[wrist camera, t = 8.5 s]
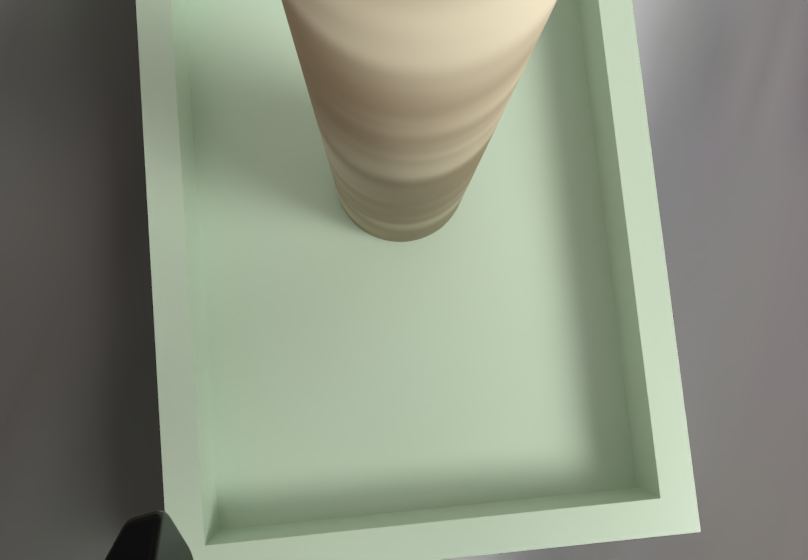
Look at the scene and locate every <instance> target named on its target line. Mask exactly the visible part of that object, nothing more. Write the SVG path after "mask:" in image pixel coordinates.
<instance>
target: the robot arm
mask: <svg viewBox="0 0 808 560" xmlns="http://www.w3.org/2000/svg"><path fill="white" fill-rule="evenodd" d="M105 560H193V556H192V553H191V551H190V549H189V547H188V545H187V543H186V542H185V540H184V539H183V537H182V535H181V534H180V532H179V530H178V529H177V527H176V525H175V524H174V522H173V521H172V519H171V517H170V516H169V515H168V514H167V513H166V512H165V511H162V510H161V511H155V512H152V513H148V514H144V515H141V516H137V517H134V518H132V519H130V520H129V521H127V522H126V523H125V525H124V526H123V528H122V529H121V531H120V533H119V535H118V537H117V538H116V540H115V542H114V544H113V546H112V548H111V549H110V551H109V553H108V555H107V557H106V558H105Z"/></svg>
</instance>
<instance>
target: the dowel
mask: <svg viewBox="0 0 808 560" xmlns="http://www.w3.org/2000/svg"><path fill="white" fill-rule="evenodd" d="M281 1H282V4H283V7H284V11H285V14H286V18H287V21H288V25H289V28H290V32H291V35H292V38H293V42H294V45H295V49H296V52H297V56H298V59H299V62H300V66H301V69H302V73H303V76H304V80H305V83H306V86H307V90H308V93H309V97H310V100H311V104H312V107H313V110H314V114H315V117H316V121H317V124H318V128H319V131H320V135H321V138H322V141H323V145H324V148H325V152H326V155H327V159H328V162H329V165H330V169H331V172H332V176H333V179H334V183H335V186H336V189H337V193H338V196H339V199H340V202H341V204H342V206H343V208H344V210H345V212H346V213H347V215H348V216H349V217H350V219H351V220H352V221H353V222H354V223H355V224H356V225H357V226H358V227H360V228H361V229H362V230H363V231H365V232H367V233H369V234H370V235H372V236H375V237H377V238H380V239H383V240H387V241H393V242H408V241H414V240H418V239H422V238H424V237H427V236H429V235H431V234H433V233H434V232H436V231H437V230H439V229H440V228H442V227H443V226H444V225H445V224H446V223H447V222H448V221H449V220H450V218H451V217H452V216H453V215H454V213H455V211H456V210H457V208H458V206H459V204H460V202H461V200H462V198H463V196H464V193H465V191H466V189H467V187H468V185H469V183H470V181H471V179H472V177H473V175H474V173H475V171H476V168H477V166H478V164H479V162H480V160H481V158H482V156H483V154H484V152H485V150H486V148H487V145H488V143H489V141H490V139H491V137H492V135H493V133H494V131H495V129H496V127H497V125H498V123H499V120H500V118H501V116H502V114H503V112H504V110H505V108H506V106H507V104H508V102H509V100H510V97H511V95H512V93H513V91H514V89H515V87H516V85H517V83H518V81H519V79H520V77H521V75H522V72H523V70H524V68H525V66H526V64H527V62H528V60H529V58H530V56H531V54H532V52H533V49H534V47H535V45H536V43H537V41H538V39H539V37H540V35H541V33H542V31H543V29H544V27H545V24H546V22H547V20H548V18H549V16H550V14H551V12H552V10H553V8H554V6H555V4H556V1H557V0H281Z"/></svg>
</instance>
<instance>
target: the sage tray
mask: <svg viewBox="0 0 808 560" xmlns="http://www.w3.org/2000/svg"><path fill="white" fill-rule="evenodd" d="M136 13H137V31H138V49H139V66H140V84H141V101H142V119H143V137H144V154H145V172H146V190H147V207H148V225H149V242H150V260H151V278H152V295H153V313H154V331H155V348H156V366H157V384H158V401H159V419H160V436H161V454H162V472H163V489H164V507H165V512H166V513H167V514H168V515H169V516H170V517H171V519H172V521H173V522H174V524H175V525H176V527H177V529H178V530H179V532H180V534H181V535H182V537H183V539H184V540H185V542H186V543H187V545H188V547H189V549H190V551H191V553H192V556H193V560H440V559H449V558H459V557H468V556H477V555H487V554H496V553H506V552H515V551H525V550H534V549H543V548H553V547H562V546H572V545H581V544H591V543H600V542H609V541H619V540H628V539H638V538H647V537H657V536H666V535H675V534H685V533H694V532H701V530H700V522H699V514H698V507H697V499H696V491H695V484H694V476H693V468H692V461H691V453H690V445H689V437H688V430H687V422H686V414H685V407H684V399H683V391H682V383H681V376H680V368H679V360H678V353H677V345H676V337H675V330H674V322H673V314H672V306H671V299H670V291H669V283H668V276H667V268H666V260H665V252H664V245H663V237H662V229H661V222H660V214H659V206H658V198H657V191H656V183H655V175H654V168H653V160H652V152H651V145H650V137H649V129H648V121H647V114H646V106H645V98H644V91H643V83H642V75H641V67H640V60H639V52H638V44H637V37H636V29H635V21H634V13H633V6H632V0H557V1H556V4H555V6H554V8H553V10H552V12H551V14H550V16H549V18H548V20H547V22H546V24H545V27H544V29H543V31H542V33H541V35H540V37H539V39H538V41H537V43H536V45H535V47H534V49H533V52H532V54H531V56H530V58H529V60H528V62H527V64H526V66H525V68H524V70H523V72H522V75H521V77H520V79H519V81H518V83H517V85H516V87H515V89H514V91H513V93H512V95H511V97H510V100H509V102H508V104H507V106H506V108H505V110H504V112H503V114H502V116H501V118H500V120H499V123H498V125H497V127H496V129H495V131H494V133H493V135H492V137H491V139H490V141H489V143H488V145H487V148H486V150H485V152H484V154H483V156H482V158H481V160H480V162H479V164H478V166H477V168H476V171H475V173H474V175H473V177H472V179H471V181H470V183H469V185H468V187H467V189H466V191H465V193H464V196H463V198H462V200H461V202H460V204H459V206H458V208H457V210H456V211H455V213H454V215H453V216H452V217H451V218H450V220H449V221H448V222H447V223H446V224H445V225H444V226H443V227H442V228H440V229H439V230H437V231H436V232H434V233H433V234H431V235H429V236H427V237H424V238H422V239H418V240H414V241H408V242H393V241H387V240H383V239H380V238H377V237H375V236H372V235H370V234H369V233H367V232H365V231H363V230H362V229H361V228H360V227H358V226H357V225H356V224H355V223H354V222H353V221H352V220H351V219H350V217H349V216H348V215H347V213H346V212H345V210H344V208H343V206H342V204H341V202H340V199H339V196H338V193H337V189H336V186H335V183H334V179H333V176H332V172H331V169H330V165H329V162H328V159H327V155H326V152H325V148H324V145H323V141H322V138H321V135H320V131H319V128H318V124H317V121H316V117H315V114H314V110H313V107H312V104H311V100H310V97H309V93H308V90H307V86H306V83H305V80H304V76H303V73H302V69H301V66H300V62H299V59H298V56H297V52H296V49H295V45H294V42H293V38H292V35H291V32H290V28H289V25H288V21H287V18H286V14H285V11H284V7H283V4H282V1H281V0H136Z"/></svg>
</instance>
